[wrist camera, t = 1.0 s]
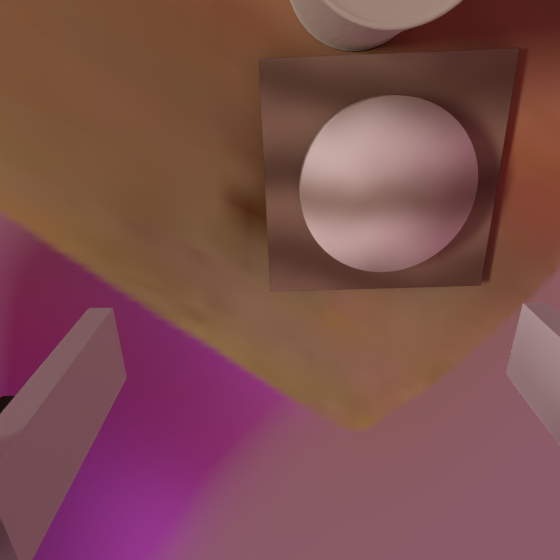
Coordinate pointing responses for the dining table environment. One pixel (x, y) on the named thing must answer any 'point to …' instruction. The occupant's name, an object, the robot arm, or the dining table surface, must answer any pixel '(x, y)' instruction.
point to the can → (365, 19)
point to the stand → (382, 166)
